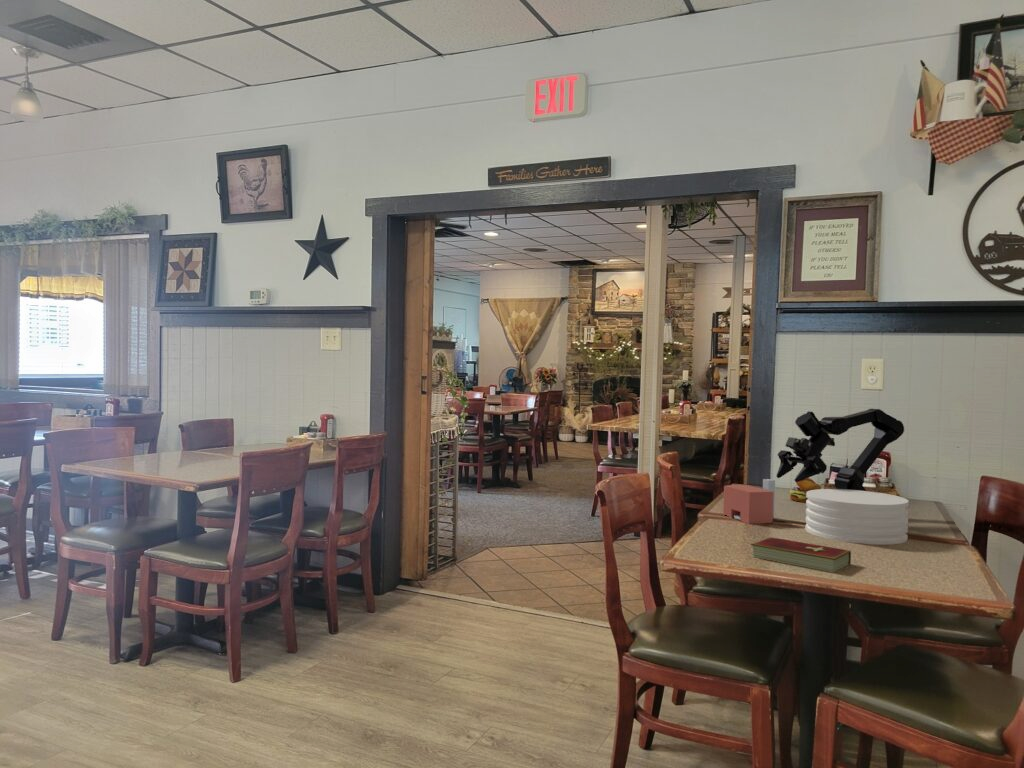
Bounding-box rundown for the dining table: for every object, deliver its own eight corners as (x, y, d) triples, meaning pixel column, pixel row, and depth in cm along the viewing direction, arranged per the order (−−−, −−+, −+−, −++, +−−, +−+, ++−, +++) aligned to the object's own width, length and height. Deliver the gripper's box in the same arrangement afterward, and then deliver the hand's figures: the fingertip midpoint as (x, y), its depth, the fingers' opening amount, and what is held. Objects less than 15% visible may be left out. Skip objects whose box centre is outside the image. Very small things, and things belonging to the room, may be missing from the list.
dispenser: (747, 514, 251) (748, 484, 251) (774, 522, 238) (775, 491, 238) (723, 515, 248) (724, 485, 248) (748, 523, 235) (749, 492, 235)
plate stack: (921, 548, 208) (922, 507, 207) (815, 541, 213) (816, 501, 213) (891, 527, 235) (892, 491, 235) (797, 522, 241) (798, 487, 240)
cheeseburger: (796, 497, 289) (803, 473, 288) (821, 507, 281) (829, 483, 280) (782, 499, 283) (789, 474, 281) (808, 510, 275) (815, 484, 273)
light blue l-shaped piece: (768, 516, 247) (769, 479, 247) (774, 518, 245) (775, 480, 244) (734, 517, 243) (735, 479, 243) (739, 519, 240) (740, 481, 240)
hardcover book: (769, 551, 201) (769, 535, 201) (850, 565, 187) (851, 549, 187) (750, 558, 192) (750, 542, 192) (834, 574, 178) (834, 557, 178)
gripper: (783, 427, 258) (754, 459, 254) (820, 431, 240) (791, 466, 237) (801, 449, 260) (773, 481, 257) (839, 455, 242) (810, 490, 239)
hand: (786, 479), depth 247 cm, fingers open, 9 cm apart
